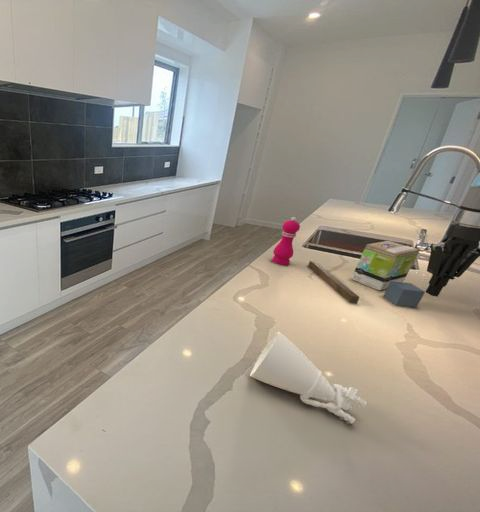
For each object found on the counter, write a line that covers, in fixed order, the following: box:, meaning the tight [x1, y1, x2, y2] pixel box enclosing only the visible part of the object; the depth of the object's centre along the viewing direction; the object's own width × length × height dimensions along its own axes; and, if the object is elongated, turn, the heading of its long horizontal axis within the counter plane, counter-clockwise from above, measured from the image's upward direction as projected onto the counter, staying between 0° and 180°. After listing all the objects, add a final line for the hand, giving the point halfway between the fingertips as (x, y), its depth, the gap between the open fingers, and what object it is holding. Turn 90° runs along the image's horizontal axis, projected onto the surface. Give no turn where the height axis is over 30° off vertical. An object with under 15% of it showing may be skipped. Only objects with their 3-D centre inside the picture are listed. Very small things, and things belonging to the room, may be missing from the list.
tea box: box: [350, 240, 420, 291], centre depth 110 cm, size 15×10×15 cm
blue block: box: [383, 281, 426, 309], centre depth 99 cm, size 6×6×6 cm
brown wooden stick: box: [307, 260, 360, 305], centre depth 111 cm, size 30×2×2 cm, turn 169°
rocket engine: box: [249, 331, 368, 424], centre depth 61 cm, size 12×12×18 cm
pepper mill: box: [271, 216, 301, 266], centre depth 124 cm, size 7×7×20 cm
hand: (431, 294), depth 97 cm, fingers closed
